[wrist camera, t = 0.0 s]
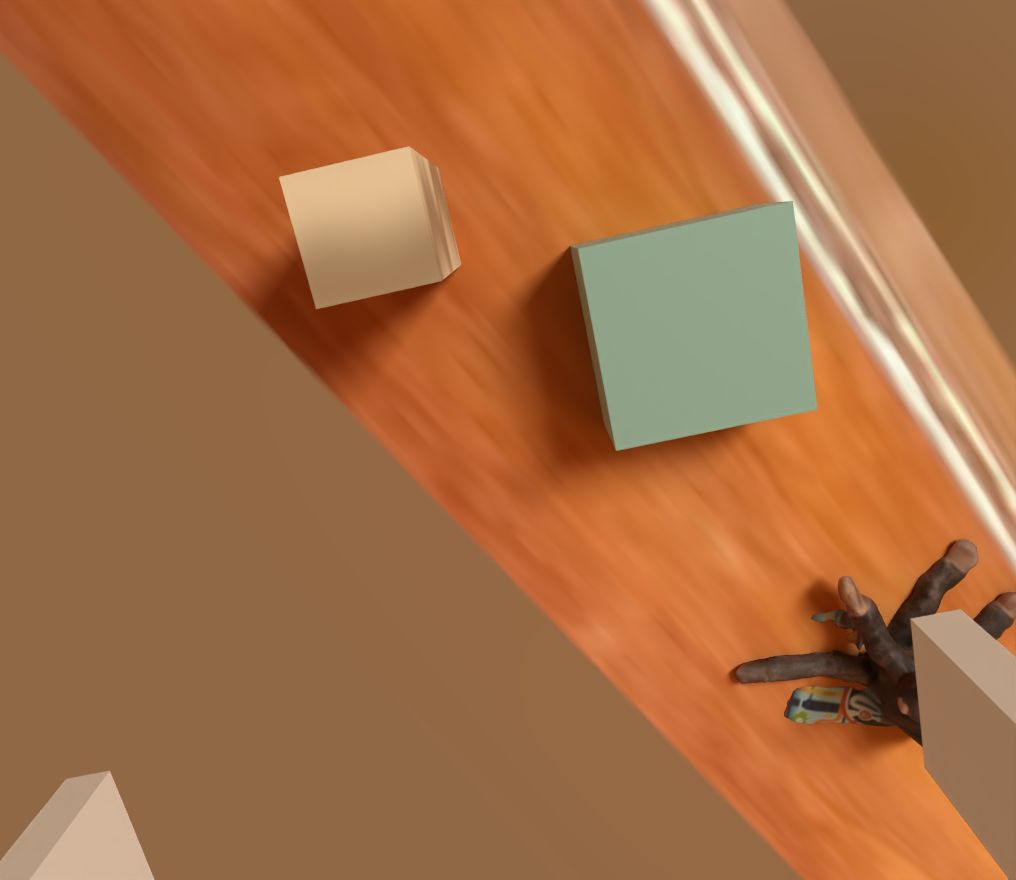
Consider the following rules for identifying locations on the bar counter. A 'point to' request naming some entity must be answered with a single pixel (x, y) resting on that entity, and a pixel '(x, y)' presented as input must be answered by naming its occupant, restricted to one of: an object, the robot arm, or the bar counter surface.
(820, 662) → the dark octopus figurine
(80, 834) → the robot arm
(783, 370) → the green square block
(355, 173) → the block
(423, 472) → the bar counter surface
